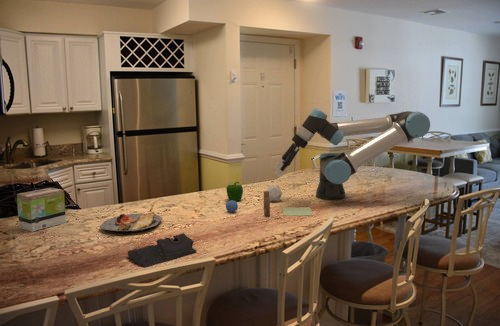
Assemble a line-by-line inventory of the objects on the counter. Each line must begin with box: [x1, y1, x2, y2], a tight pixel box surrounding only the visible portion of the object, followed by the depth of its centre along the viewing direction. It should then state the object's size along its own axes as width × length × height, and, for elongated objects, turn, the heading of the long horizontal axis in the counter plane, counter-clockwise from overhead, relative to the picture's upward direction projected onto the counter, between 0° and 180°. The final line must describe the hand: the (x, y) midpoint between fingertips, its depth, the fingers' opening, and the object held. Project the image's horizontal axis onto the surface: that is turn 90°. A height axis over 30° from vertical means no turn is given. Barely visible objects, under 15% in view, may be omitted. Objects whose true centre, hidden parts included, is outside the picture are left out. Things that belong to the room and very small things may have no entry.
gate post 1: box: [263, 190, 269, 199], centre depth 190 cm, size 3×3×8 cm
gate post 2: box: [263, 197, 271, 218], centre depth 178 cm, size 3×3×8 cm
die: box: [266, 184, 283, 203], centre depth 204 cm, size 8×9×10 cm
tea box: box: [16, 187, 67, 233], centre depth 168 cm, size 15×10×15 cm, turn 148°
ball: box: [225, 200, 239, 213], centre depth 184 cm, size 6×6×6 cm
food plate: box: [99, 211, 163, 233], centre depth 167 cm, size 25×23×4 cm
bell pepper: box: [225, 181, 244, 202], centre depth 205 cm, size 8×8×10 cm
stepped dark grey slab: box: [127, 233, 198, 269], centre depth 136 cm, size 15×22×5 cm
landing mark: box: [281, 206, 314, 217], centre depth 184 cm, size 13×13×1 cm
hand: (276, 173), depth 196 cm, fingers open, 13 cm apart
